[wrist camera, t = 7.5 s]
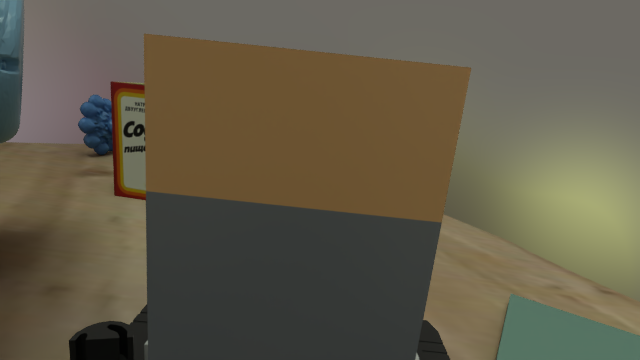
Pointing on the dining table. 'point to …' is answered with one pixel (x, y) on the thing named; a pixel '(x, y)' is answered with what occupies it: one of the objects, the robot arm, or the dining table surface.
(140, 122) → the baking soda box
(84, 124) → the grapes
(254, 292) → the plug
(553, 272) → the dining table surface
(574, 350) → the mat
